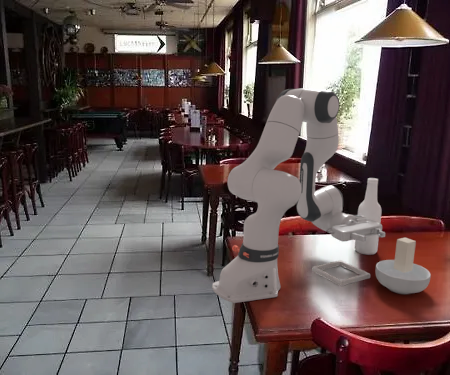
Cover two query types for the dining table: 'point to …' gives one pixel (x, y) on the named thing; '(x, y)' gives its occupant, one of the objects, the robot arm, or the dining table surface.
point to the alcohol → (372, 212)
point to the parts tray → (319, 271)
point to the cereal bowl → (402, 277)
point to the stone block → (404, 254)
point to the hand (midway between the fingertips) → (374, 237)
